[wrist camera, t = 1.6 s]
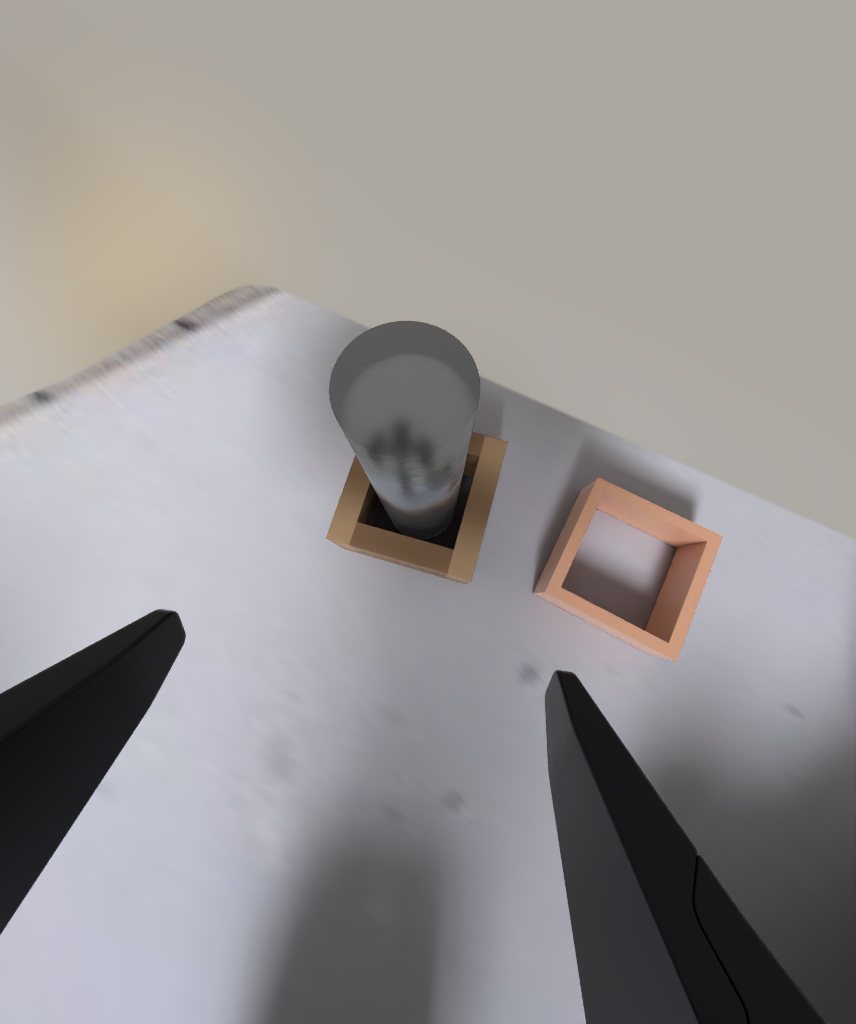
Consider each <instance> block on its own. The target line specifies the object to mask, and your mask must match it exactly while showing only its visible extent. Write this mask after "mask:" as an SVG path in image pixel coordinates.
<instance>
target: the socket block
mask: <svg viewBox="0 0 856 1024" xmlns="http://www.w3.org/2000/svg"><path fill="white" fill-rule="evenodd" d="M596 509H598V510H600V511H602V512H604V513H606V514H608V515H611V516H613V517H615V518H617V519H619V520H621V521H623V522H625V523H627V524H629V525H631V526H633V527H635V528H637V529H639V530H641V531H643V532H645V533H648V534H650V535H652V536H654V537H656V538H658V539H660V540H662V541H664V542H666V543H668V544H670V545H672V546H674V547H676V548H677V550H676V553H675V555H674V558H673V560H672V563H671V565H670V568H669V570H668V573H667V575H666V578H665V581H664V583H663V586H662V588H661V591H660V593H659V596H658V598H657V601H656V603H655V606H654V608H653V611H652V613H651V616H650V618H649V621H648V623H647V626H646V628H645V631H644V630H642V629H640V628H638V627H636V626H635V625H633V624H631V623H629V622H627V621H625V620H623V619H621V618H619V617H617V616H615V615H613V614H611V613H610V612H608V611H606V610H604V609H602V608H600V607H598V606H596V605H594V604H592V603H590V602H588V601H586V600H585V599H583V598H581V597H579V596H577V595H575V594H573V593H571V592H569V591H567V590H565V589H563V588H561V586H562V584H563V582H564V579H565V577H566V575H567V573H568V570H569V568H570V566H571V564H572V562H573V559H574V557H575V555H576V553H577V551H578V548H579V546H580V544H581V542H582V539H583V537H584V535H585V533H586V531H587V528H588V526H589V524H590V522H591V520H592V517H593V515H594V513H595V511H596ZM722 537H723V536H721V535H719V534H717V533H715V532H712V531H710V530H708V529H706V528H704V527H702V526H700V525H698V524H696V523H694V522H691V521H689V520H687V519H685V518H683V517H681V516H679V515H677V514H675V513H672V512H670V511H668V510H666V509H664V508H662V507H660V506H658V505H656V504H654V503H651V502H649V501H647V500H645V499H643V498H641V497H639V496H637V495H635V494H633V493H630V492H628V491H626V490H624V489H622V488H620V487H618V486H616V485H614V484H611V483H609V482H607V481H605V480H603V479H601V478H599V477H597V478H596V479H595V480H593V481H592V482H591V483H589V484H588V485H587V486H586V487H584V488H583V489H582V490H581V491H580V493H579V495H578V497H577V499H576V501H575V503H574V506H573V508H572V510H571V512H570V514H569V516H568V518H567V521H566V523H565V525H564V527H563V529H562V531H561V533H560V536H559V538H558V540H557V542H556V544H555V546H554V548H553V551H552V553H551V555H550V557H549V559H548V561H547V563H546V566H545V568H544V570H543V572H542V574H541V576H540V578H539V581H538V583H537V585H536V587H535V589H534V591H533V594H535V595H537V596H538V597H540V598H542V599H544V600H546V601H548V602H550V603H552V604H554V605H556V606H557V607H559V608H561V609H563V610H565V611H567V612H569V613H571V614H573V615H574V616H576V617H578V618H580V619H582V620H584V621H586V622H588V623H590V624H592V625H593V626H595V627H597V628H599V629H601V630H603V631H605V632H607V633H609V634H610V635H612V636H614V637H616V638H618V639H620V640H622V641H624V642H626V643H628V644H629V645H631V646H633V647H635V648H637V649H639V650H641V651H643V652H645V653H647V654H649V655H653V656H657V657H661V658H665V659H669V660H673V661H677V658H678V656H679V653H680V650H681V647H682V645H683V642H684V639H685V637H686V634H687V631H688V629H689V626H690V623H691V621H692V618H693V615H694V613H695V610H696V607H697V605H698V602H699V599H700V596H701V594H702V591H703V588H704V586H705V583H706V580H707V578H708V575H709V572H710V570H711V567H712V564H713V562H714V559H715V556H716V554H717V551H718V548H719V545H720V543H721V540H722Z"/></svg>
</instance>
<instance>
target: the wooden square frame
mask: <svg viewBox="0 0 856 1024" xmlns="http://www.w3.org/2000/svg"><path fill="white" fill-rule="evenodd" d="M507 443H508V441H504V440H500V439H496V438H493V437H489V436H485V435H481V434H477V433H473V432H472V434H471V439H470V443H469V448H468V453H467V457H466V462H465V467H464V471H463V475H464V476H468V477H471V478H473V481H472V484H471V488H470V491H469V495H468V499H467V502H466V506H465V509H464V513H463V517H462V520H461V524H460V528H459V531H458V535H457V538H456V542H455V546H454V549H450V548H446V547H443V546H439V545H436V544H432V543H429V542H425V541H422V540H418V539H415V538H411V537H408V536H404V535H401V534H397V533H394V532H390V531H387V530H383V529H380V528H376V527H373V526H372V523H373V519H374V516H375V513H376V510H377V507H378V504H379V501H380V499H379V497H378V495H377V493H376V491H375V489H374V488H373V486H372V484H371V482H370V480H369V478H368V476H367V475H366V473H365V471H364V469H363V467H362V465H361V464H360V462H359V460H358V458H357V456H356V455H355V458H354V460H353V463H352V466H351V469H350V472H349V475H348V477H347V480H346V483H345V486H344V489H343V492H342V494H341V497H340V500H339V503H338V506H337V508H336V511H335V514H334V517H333V520H332V523H331V525H330V528H329V531H328V534H327V537H326V539H328V540H330V541H331V542H333V543H335V544H337V545H338V546H340V547H342V548H344V549H348V550H351V551H355V552H358V553H361V554H365V555H368V556H372V557H375V558H378V559H382V560H385V561H389V562H392V563H396V564H399V565H402V566H406V567H409V568H413V569H416V570H420V571H423V572H426V573H430V574H433V575H437V576H440V577H444V578H447V579H450V580H454V581H457V582H461V583H464V584H467V583H469V582H470V581H472V577H473V573H474V570H475V566H476V562H477V558H478V554H479V550H480V547H481V543H482V539H483V535H484V531H485V528H486V524H487V520H488V516H489V512H490V508H491V505H492V501H493V497H494V493H495V489H496V485H497V482H498V478H499V474H500V470H501V466H502V462H503V459H504V455H505V451H506V447H507Z"/></svg>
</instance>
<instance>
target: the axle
mask: <svg viewBox="0 0 856 1024" xmlns="http://www.w3.org/2000/svg"><path fill="white" fill-rule="evenodd" d="M329 394H330V402H331V406H332V410H333V412H334V415H335V417H336V419H337V421H338V423H339V425H340V427H341V428H342V430H343V432H344V434H345V436H346V438H347V440H348V441H349V443H350V445H351V447H352V449H353V451H354V452H355V454H356V456H357V458H358V460H359V462H360V464H361V465H362V467H363V469H364V471H365V473H366V475H367V476H368V478H369V480H370V482H371V484H372V486H373V488H374V489H375V491H376V493H377V495H378V497H379V499H380V500H381V502H382V504H383V506H384V508H385V510H386V512H387V513H388V515H389V517H390V519H391V521H392V523H393V524H394V526H395V527H396V528H397V529H398V530H399V531H400V532H402V533H403V534H405V535H406V536H409V537H412V538H416V539H427V538H431V537H434V536H437V535H438V534H440V533H442V532H443V531H444V530H445V529H446V528H447V527H448V526H449V525H450V523H451V521H452V519H453V517H454V513H455V509H456V504H457V500H458V495H459V490H460V485H461V481H462V476H463V471H464V467H465V462H466V457H467V453H468V448H469V443H470V439H471V434H472V429H473V424H474V420H475V415H476V410H477V406H478V401H479V395H480V379H479V374H478V370H477V367H476V364H475V362H474V360H473V358H472V356H471V354H470V353H469V351H468V350H467V349H466V347H465V346H464V345H463V344H462V343H461V342H460V341H459V340H458V339H457V338H455V337H454V336H453V335H451V334H450V333H448V332H447V331H445V330H443V329H441V328H439V327H436V326H433V325H430V324H427V323H422V322H415V321H397V322H391V323H386V324H382V325H379V326H377V327H374V328H372V329H370V330H368V331H366V332H364V333H363V334H361V335H360V336H358V337H357V338H356V339H354V340H353V341H352V342H351V343H350V344H349V345H348V346H347V347H346V348H345V349H344V351H343V352H342V353H341V355H340V356H339V358H338V360H337V362H336V364H335V366H334V368H333V371H332V374H331V379H330V388H329Z"/></svg>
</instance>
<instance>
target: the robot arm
mask: <svg viewBox="0 0 856 1024" xmlns="http://www.w3.org/2000/svg"><path fill="white" fill-rule="evenodd" d="M185 637H186V634H185V630H184V628H183V625H182V622H181V620H180V617H179V615H178V613H177V612H175V611H171V610H164V609H158V610H155V611H153V612H151V613H149V614H148V615H146V616H144V617H142V618H140V619H138V620H136V621H135V622H133V623H131V624H129V625H127V626H125V627H123V628H122V629H120V630H118V631H116V632H114V633H112V634H110V635H109V636H107V637H105V638H103V639H101V640H99V641H97V642H96V643H94V644H92V645H90V646H88V647H86V648H84V649H83V650H81V651H79V652H77V653H75V654H73V655H71V656H70V657H68V658H66V659H64V660H62V661H60V662H58V663H57V664H55V665H53V666H51V667H49V668H47V669H45V670H44V671H42V672H40V673H38V674H36V675H34V676H32V677H31V678H29V679H27V680H25V681H23V682H21V683H19V684H18V685H16V686H14V687H12V688H10V689H8V690H6V691H5V692H3V693H1V694H0V935H1V933H2V932H3V930H4V929H5V927H6V925H7V924H8V922H9V921H10V919H11V918H12V916H13V915H14V913H15V912H16V910H17V909H18V907H19V906H20V904H21V903H22V901H23V900H24V898H25V897H26V895H27V893H28V892H29V890H30V889H31V887H32V886H33V884H34V883H35V881H36V880H37V878H38V877H39V875H40V874H41V872H42V871H43V869H44V868H45V866H46V865H47V863H48V862H49V860H50V858H51V857H52V855H53V854H54V852H55V851H56V849H57V848H58V846H59V845H60V843H61V842H62V840H63V839H64V837H65V836H66V834H67V833H68V831H69V830H70V828H71V826H72V825H73V823H74V822H75V820H76V819H77V817H78V816H79V814H80V813H81V811H82V810H83V808H84V807H85V805H86V804H87V802H88V801H89V799H90V798H91V796H92V794H93V793H94V791H95V790H96V788H97V787H98V785H99V784H100V782H101V781H102V779H103V778H104V776H105V775H106V773H107V772H108V770H109V769H110V767H111V766H112V764H113V763H114V761H115V759H116V758H117V756H118V755H119V753H120V752H121V750H122V749H123V747H124V746H125V744H126V743H127V741H128V740H129V738H130V737H131V735H132V734H133V732H134V731H135V729H136V727H137V726H138V724H139V723H140V721H141V720H142V718H143V717H144V715H145V714H146V712H147V710H148V709H149V707H150V706H151V704H152V702H153V700H154V699H155V697H156V695H157V693H158V691H159V690H160V688H161V686H162V684H163V682H164V680H165V678H166V676H167V675H168V673H169V671H170V669H171V667H172V665H173V663H174V661H175V660H176V658H177V656H178V654H179V652H180V650H181V648H182V646H183V644H184V642H185ZM545 712H546V733H547V754H548V771H549V779H550V787H551V793H552V800H553V807H554V813H555V820H556V826H557V833H558V840H559V846H560V853H561V859H562V866H563V873H564V879H565V886H566V893H567V899H568V906H569V912H570V919H571V926H572V932H573V939H574V945H575V952H576V959H577V965H578V972H579V978H580V985H581V992H582V998H583V1005H584V1011H585V1018H586V1024H827V1023H826V1022H825V1021H824V1020H823V1018H822V1017H821V1016H820V1014H819V1013H818V1012H817V1011H816V1009H815V1008H814V1007H813V1006H812V1004H811V1003H810V1002H809V1000H808V999H807V998H806V997H805V995H804V994H803V993H802V992H801V990H800V989H799V988H798V986H797V985H796V984H795V983H794V981H793V980H792V979H791V978H790V976H789V975H788V974H787V972H786V971H785V970H784V969H783V967H782V966H781V965H780V963H779V962H778V961H777V959H776V958H775V957H774V956H773V954H772V953H771V952H770V950H769V949H768V948H767V946H766V945H765V944H764V942H763V941H762V940H761V938H760V937H759V936H758V935H757V933H756V932H755V931H754V929H753V928H752V927H751V925H750V924H749V923H748V921H747V920H746V919H745V917H744V916H743V914H742V913H741V912H740V910H739V909H738V908H737V906H736V905H735V903H734V902H733V901H732V899H731V898H730V896H729V895H728V894H727V892H726V891H725V889H724V888H723V887H722V885H721V884H720V882H719V881H718V880H717V878H716V877H715V875H714V874H713V872H712V871H711V869H710V868H709V867H708V865H707V864H706V862H705V861H704V859H703V858H702V856H701V855H697V850H696V848H695V847H694V845H693V844H692V842H691V841H690V839H689V838H688V836H687V835H686V834H685V832H684V831H683V829H682V828H681V826H680V825H679V823H678V822H677V821H676V819H675V818H674V816H673V815H672V813H671V812H670V810H669V809H668V808H667V806H666V805H665V803H664V802H663V800H662V799H661V797H660V796H659V795H658V793H657V792H656V790H655V789H654V787H653V786H652V784H651V783H650V782H649V780H648V779H647V777H646V776H645V774H644V773H643V771H642V770H641V769H640V767H639V766H638V764H637V763H636V761H635V760H634V758H633V757H632V756H631V754H630V753H629V751H628V750H627V748H626V747H625V745H624V744H623V743H622V741H621V740H620V738H619V737H618V735H617V734H616V732H615V731H614V730H613V728H612V727H611V725H610V724H609V722H608V721H607V719H606V718H605V717H604V715H603V714H602V712H601V711H600V709H599V708H598V706H597V705H596V704H595V702H594V701H593V699H592V698H591V696H590V695H589V693H588V692H587V691H586V689H585V688H584V686H583V685H582V683H581V682H580V680H579V679H578V678H577V676H576V675H575V674H574V673H572V672H567V671H561V670H556V671H555V672H554V673H553V676H552V678H551V680H550V683H549V685H548V688H547V690H546V694H545Z"/></svg>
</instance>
